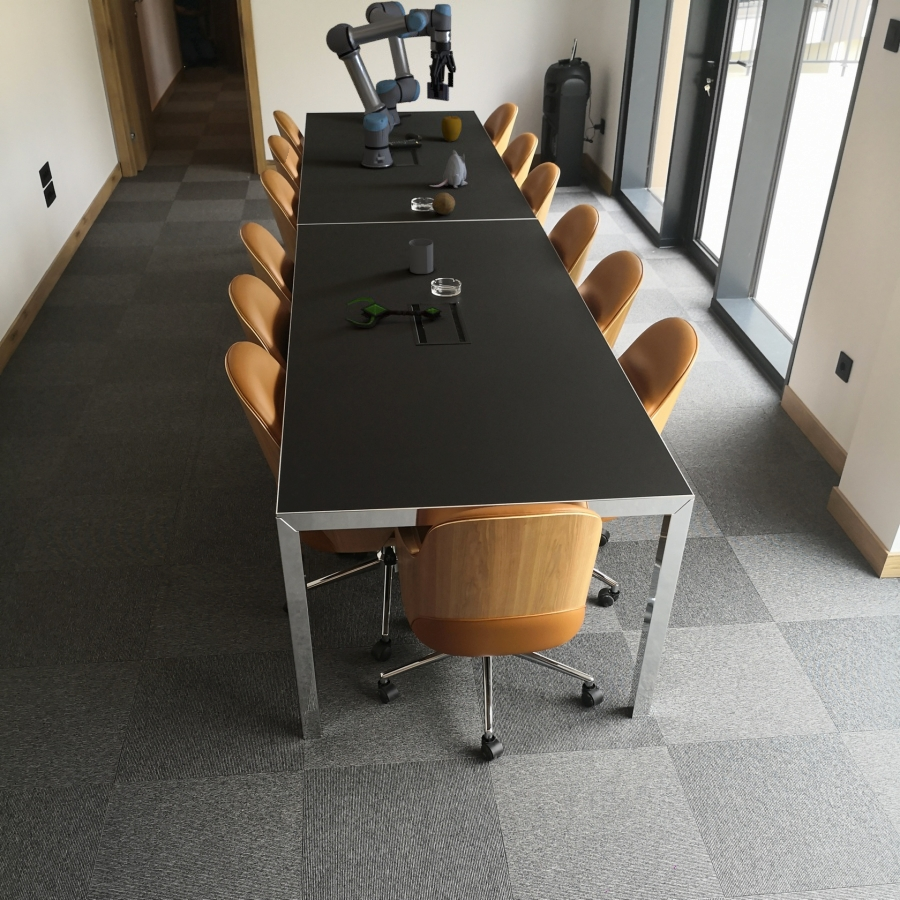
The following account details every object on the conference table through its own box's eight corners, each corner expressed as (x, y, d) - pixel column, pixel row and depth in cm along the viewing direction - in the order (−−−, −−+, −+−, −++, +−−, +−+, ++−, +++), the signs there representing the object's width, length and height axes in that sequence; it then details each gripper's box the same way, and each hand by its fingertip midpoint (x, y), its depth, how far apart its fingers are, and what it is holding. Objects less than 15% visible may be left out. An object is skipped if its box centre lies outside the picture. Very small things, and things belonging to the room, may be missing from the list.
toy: (472, 184, 399) (472, 151, 391) (436, 195, 384) (436, 161, 376) (457, 180, 404) (458, 147, 396) (422, 191, 389) (421, 157, 381)
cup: (409, 265, 311) (408, 238, 306) (432, 265, 312) (431, 238, 307) (410, 274, 304) (409, 246, 299) (433, 273, 305) (433, 246, 299)
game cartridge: (426, 98, 481) (425, 82, 476) (429, 97, 483) (428, 81, 477) (447, 101, 475) (446, 84, 469) (449, 100, 476) (449, 83, 471)
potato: (453, 208, 369) (453, 189, 365) (456, 218, 357) (456, 199, 353) (431, 208, 368) (430, 189, 364) (432, 218, 356) (432, 199, 352)
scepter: (441, 292, 273) (345, 289, 270) (442, 322, 265) (344, 320, 263) (440, 305, 277) (346, 303, 275) (441, 335, 270) (344, 333, 268)
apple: (461, 143, 465) (461, 118, 458) (441, 143, 466) (441, 117, 459) (461, 138, 475) (461, 113, 468) (441, 138, 475) (441, 113, 468)
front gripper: (435, 45, 396) (436, 94, 408) (463, 38, 414) (463, 86, 426) (422, 43, 399) (422, 92, 411) (450, 37, 417) (450, 84, 429)
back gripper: (435, 52, 458) (435, 99, 471) (450, 49, 469) (450, 95, 481) (423, 51, 461) (424, 98, 474) (439, 47, 472) (439, 93, 485)
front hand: (443, 89), depth 418 cm, fingers open, 13 cm apart
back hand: (437, 96), depth 478 cm, fingers closed on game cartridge, 2 cm apart
